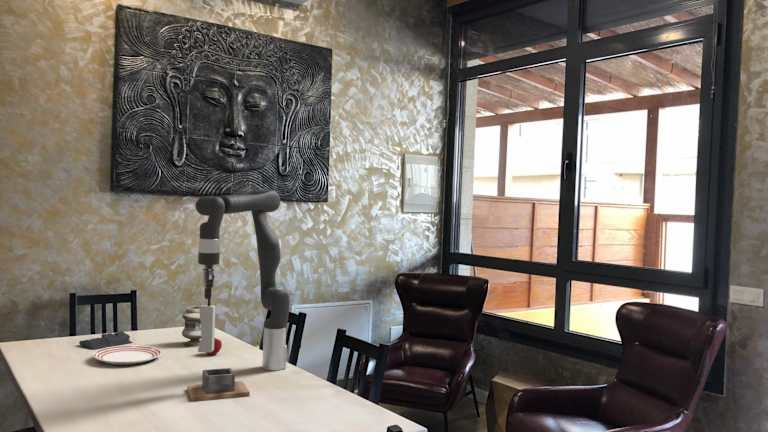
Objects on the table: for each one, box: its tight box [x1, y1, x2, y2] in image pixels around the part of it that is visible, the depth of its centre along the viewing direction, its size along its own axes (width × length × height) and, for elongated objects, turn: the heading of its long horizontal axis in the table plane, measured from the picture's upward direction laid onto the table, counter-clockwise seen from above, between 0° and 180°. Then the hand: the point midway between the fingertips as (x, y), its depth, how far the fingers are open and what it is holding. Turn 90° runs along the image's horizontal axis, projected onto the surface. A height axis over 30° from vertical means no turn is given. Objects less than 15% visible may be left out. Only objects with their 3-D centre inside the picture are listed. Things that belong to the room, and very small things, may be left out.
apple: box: [205, 337, 223, 356], centre depth 272 cm, size 8×8×8 cm
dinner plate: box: [92, 344, 163, 366], centre depth 259 cm, size 27×27×3 cm
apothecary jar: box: [181, 305, 201, 347], centre depth 290 cm, size 12×12×18 cm
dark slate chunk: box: [79, 330, 133, 351], centre depth 284 cm, size 15×22×5 cm
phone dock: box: [186, 367, 251, 402], centre depth 219 cm, size 20×14×8 cm
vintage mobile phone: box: [197, 283, 216, 353], centre depth 221 cm, size 4×5×25 cm
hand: (207, 298), depth 221 cm, fingers closed on vintage mobile phone, 1 cm apart
